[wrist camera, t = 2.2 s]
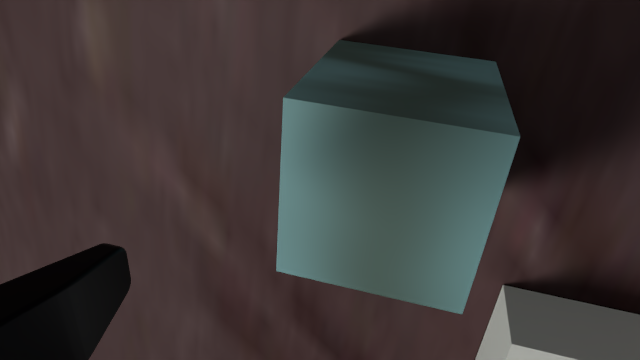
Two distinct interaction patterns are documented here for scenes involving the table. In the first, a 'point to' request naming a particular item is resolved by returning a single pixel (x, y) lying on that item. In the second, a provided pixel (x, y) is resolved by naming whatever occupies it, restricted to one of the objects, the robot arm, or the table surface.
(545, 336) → the base block
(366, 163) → the teal block
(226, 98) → the table surface
